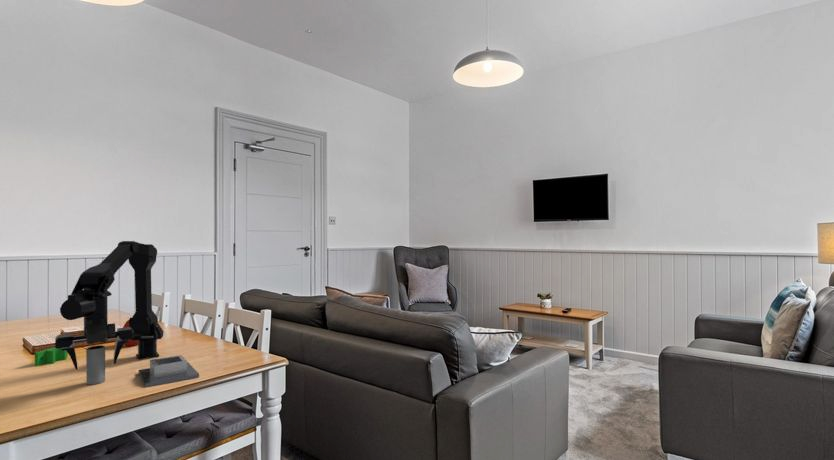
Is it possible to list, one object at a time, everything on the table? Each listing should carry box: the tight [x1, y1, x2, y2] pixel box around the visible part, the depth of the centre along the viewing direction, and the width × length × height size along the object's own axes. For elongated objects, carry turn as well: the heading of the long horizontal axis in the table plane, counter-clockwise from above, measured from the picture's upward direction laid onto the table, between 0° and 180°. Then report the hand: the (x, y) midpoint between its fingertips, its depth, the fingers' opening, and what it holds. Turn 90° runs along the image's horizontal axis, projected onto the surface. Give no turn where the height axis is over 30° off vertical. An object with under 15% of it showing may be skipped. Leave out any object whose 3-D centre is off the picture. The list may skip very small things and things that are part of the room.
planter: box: [85, 344, 106, 386], centre depth 134 cm, size 4×4×10 cm
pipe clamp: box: [34, 346, 69, 367], centre depth 156 cm, size 11×4×5 cm, turn 173°
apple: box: [122, 319, 138, 347], centre depth 177 cm, size 8×8×11 cm
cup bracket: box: [138, 354, 200, 388], centre depth 140 cm, size 16×14×4 cm
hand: (96, 366), depth 134 cm, fingers open, 9 cm apart
